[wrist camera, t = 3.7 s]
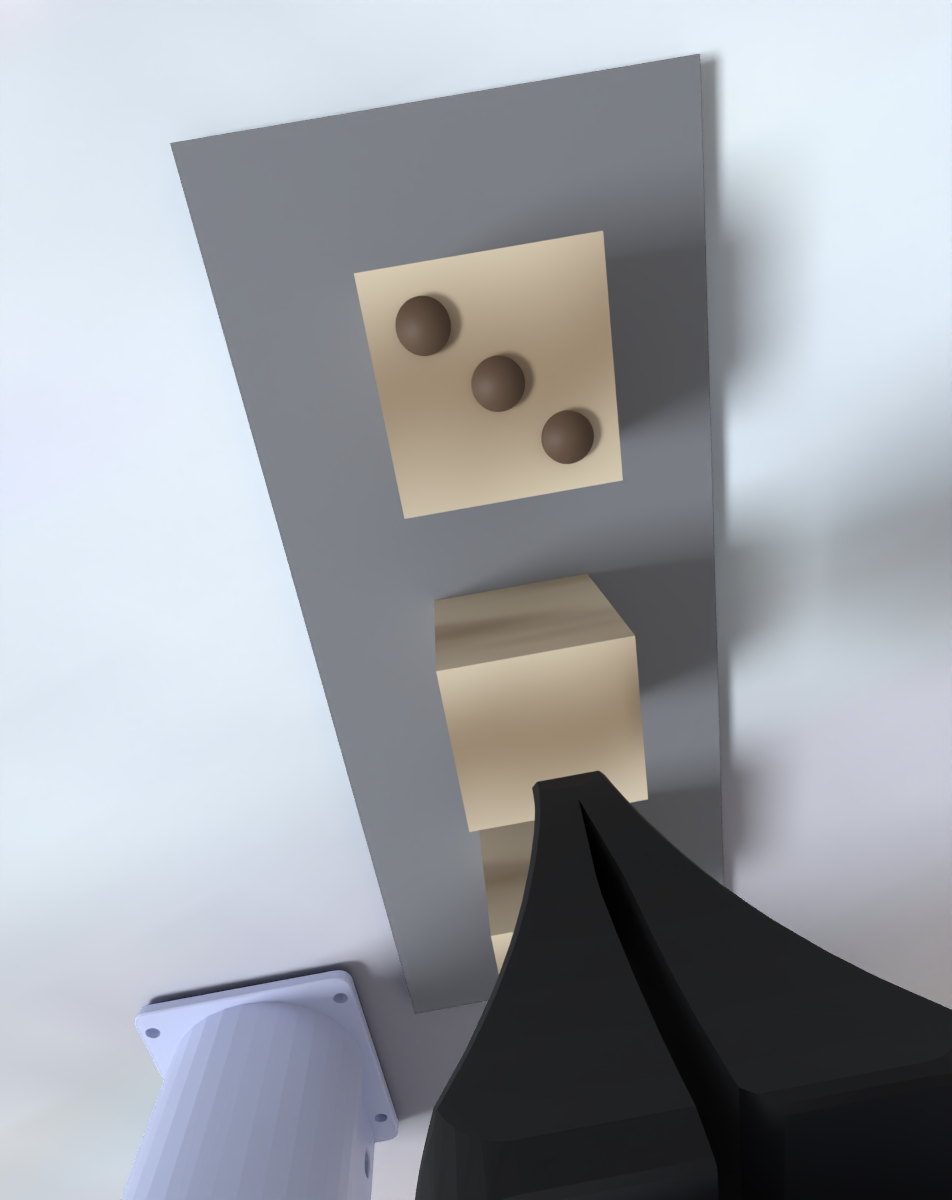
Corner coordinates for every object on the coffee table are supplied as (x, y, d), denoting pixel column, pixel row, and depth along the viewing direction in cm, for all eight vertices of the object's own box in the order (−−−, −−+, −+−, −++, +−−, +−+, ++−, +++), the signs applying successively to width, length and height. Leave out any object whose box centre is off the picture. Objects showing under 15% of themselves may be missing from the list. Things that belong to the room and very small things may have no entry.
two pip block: (621, 899, 23) (667, 1027, 18) (497, 922, 23) (515, 1056, 18) (610, 797, 21) (659, 911, 17) (478, 822, 21) (491, 942, 17)
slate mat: (718, 942, 25) (725, 955, 24) (415, 999, 25) (415, 1014, 24) (689, 65, 15) (699, 54, 14) (180, 151, 15) (170, 143, 14)
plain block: (600, 707, 20) (648, 799, 16) (460, 733, 20) (469, 831, 16) (587, 573, 18) (635, 635, 14) (433, 600, 18) (435, 671, 14)
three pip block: (574, 452, 17) (625, 482, 13) (410, 481, 17) (404, 521, 13) (554, 267, 15) (606, 227, 11) (373, 298, 15) (352, 271, 11)
